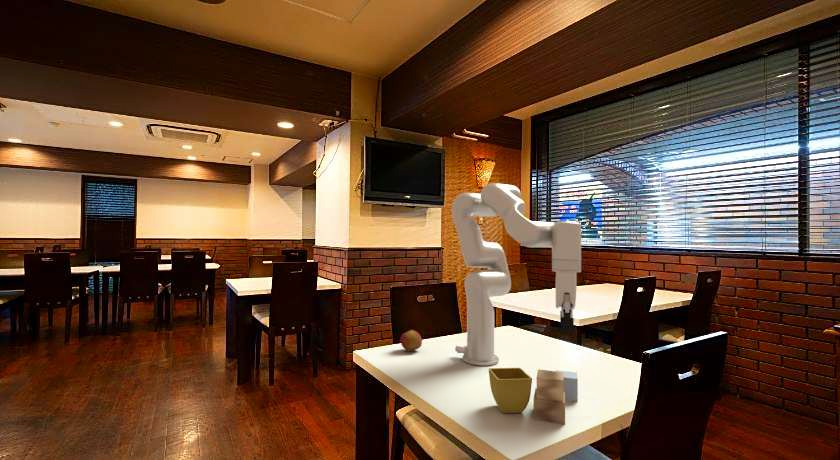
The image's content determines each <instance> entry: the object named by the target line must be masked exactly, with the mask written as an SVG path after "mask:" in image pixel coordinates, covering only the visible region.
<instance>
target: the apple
mask: <svg viewBox="0 0 840 460" xmlns="http://www.w3.org/2000/svg"><path fill="white" fill-rule="evenodd" d="M399 340H400V344H401V346H402V348H403V349H404V350H405V351H407V352H413V351H416V350H417V349H420V347H421V346H422V344H423V339H422V336H421V334H420V333H419V332H418V331H416V330H415V329H410V330H408V331H406V332H405V333H404V332H403V333H402V334H401V336H400V338H399Z"/></svg>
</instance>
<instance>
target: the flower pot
mask: <svg viewBox="0 0 840 460" xmlns="http://www.w3.org/2000/svg"><path fill="white" fill-rule="evenodd" d="M488 376H489V384H490V385H489V386H490V390H491V393H492V396H493V400H494V402H495V403H496V405H497V407H498V408H499V410H500V411H501V412H502V414H511V413H512V414H513V413H517V414H519V413H520V414H521V413H523V412H524V411H525V409H526V408H527V406H528V405H529V403H530V399H531V393H532V383H533V377H532V376H530V375H529V374H528V373H526V371H525V370H524V369H523V368H521V367H492V368H488Z"/></svg>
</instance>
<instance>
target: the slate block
mask: <svg viewBox="0 0 840 460" xmlns="http://www.w3.org/2000/svg"><path fill="white" fill-rule="evenodd" d="M555 371H556V372H563V392H565V401H569V402H578V400H579V399H578V398H579V397H578V393H579V392H578V382H579V381H578V378H579V377H578V372H575V371H565V370H559V369H556V370H555Z"/></svg>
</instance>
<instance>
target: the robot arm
mask: <svg viewBox="0 0 840 460" xmlns="http://www.w3.org/2000/svg"><path fill="white" fill-rule="evenodd" d="M452 201H453V202H452V206H451V216H452V221H453V224H454V226H455V228H456V231H457V235H458V241H459V244H460V249H461V254H462V258H463V262H464V264H465V265H466V266H467V267H469V268H472V269H473V268H475V269H476V268H479V269H480V268H481V269H482V268H487V269H486V270H485V269H484V270H483V269H482V270H473V271H471V272H469V273H468V274H467V275H466V276H465V279H464V281H463V282H464V283H463V284H464V290H465V296H466V297H465V298H466V345H465V346H459V345H455V350H454V351H455V352H456V353H458V354H463V355H462V361H463V362H465V363H466V364H468V365H469V364H470V365H473V366H481V367H482V366H483V367H485V366H486V367H487V366H493V365H496V364H498V363H499V357H498V356H497V355H495V308H494V305H493V303H492V301H491V299H490V298H491V297H492V298H493V297H494V298H495V297H504V296H506V295H507V294H508V293H510V291H511V288H512V279H511V275H510V270H509V265H508V261H507V257H506V254H505V251H504V249H503V247H502V246H501V245H500V244H499V243H497V242H495V241H485V240H484V237H483V234H482V230H481V227H480V226H479V224H478V223H477V221H476V220H475V219H474V218H473V217H484V218H485V217H486V218H491V217H495V216H498V217H500V218H501V219H502V220H503V225H504V228H505V231H506V233H507V234H508V235H509V236H510V237H511V238H513V239H514V240H515V242H517V243H518V244H520V245H521V246H524V247H526V248H543V249H544V248H551V271H552V272H555V308H556V309H559V308H561V309H560V314H559V315H560V316H559V317H560V332H561V333H564V334H574V333H575V332H574V331H575V329H574V326H575V325H574V322H575V319H574V317H573V314H574V313H573V310H575V308H576V302H577V301H576V300H577V273H582V227H581V224H580V223H579V222H578V221H574V220H573V221H571V220H570V221H569V220H567V221H566V220H565V221H562V220H561V221H556V222H552V221H537V220H536V221H535V220H533V221H532V220H530V219H528V218H527V217H525V216H524V215H525V213H526V209H527V206H526V203H525V201H524V200H522V192H521V191H520V189H519V188H518V187H517V186H516V185H512V184H507V183H505V184H504V183H497V182H495V183H494V182H493V183H488V184H486V185H484V187H482V189H481V192H480V193H479V192H478V193H477V192H464V193H460V194H458V195H457V196H455V198H454V199H453V200H452Z"/></svg>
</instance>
